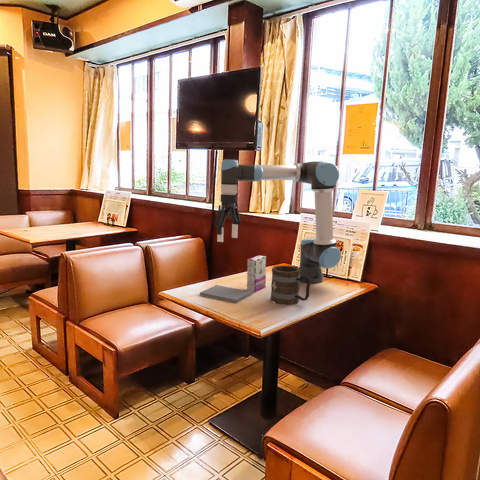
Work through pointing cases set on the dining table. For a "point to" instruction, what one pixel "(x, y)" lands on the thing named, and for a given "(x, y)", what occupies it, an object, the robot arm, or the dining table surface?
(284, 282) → the mug
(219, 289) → the slate board
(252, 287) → the candy bar box
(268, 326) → the dining table surface
